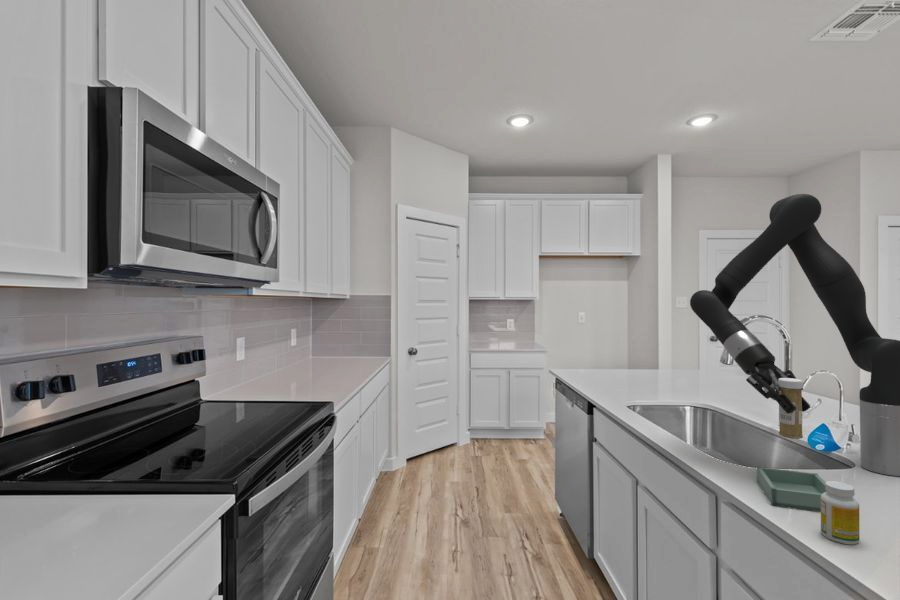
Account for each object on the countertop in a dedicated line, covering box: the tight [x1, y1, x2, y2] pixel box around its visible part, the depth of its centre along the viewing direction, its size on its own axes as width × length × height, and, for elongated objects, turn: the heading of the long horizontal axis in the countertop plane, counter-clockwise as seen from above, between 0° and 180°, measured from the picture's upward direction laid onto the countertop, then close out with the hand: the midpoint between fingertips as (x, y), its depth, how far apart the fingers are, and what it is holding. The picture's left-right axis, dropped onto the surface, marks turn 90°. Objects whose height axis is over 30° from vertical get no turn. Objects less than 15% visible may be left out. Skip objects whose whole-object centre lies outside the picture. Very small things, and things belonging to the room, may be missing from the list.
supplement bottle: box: [820, 480, 861, 546], centre depth 82 cm, size 5×5×10 cm
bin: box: [756, 466, 827, 513], centre depth 100 cm, size 14×12×4 cm
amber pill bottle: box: [778, 378, 804, 440], centre depth 105 cm, size 5×5×14 cm
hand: (799, 410), depth 104 cm, fingers closed on amber pill bottle, 4 cm apart
